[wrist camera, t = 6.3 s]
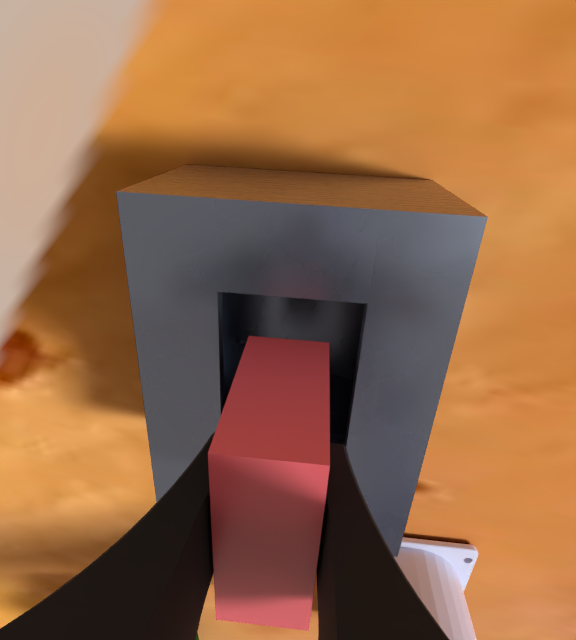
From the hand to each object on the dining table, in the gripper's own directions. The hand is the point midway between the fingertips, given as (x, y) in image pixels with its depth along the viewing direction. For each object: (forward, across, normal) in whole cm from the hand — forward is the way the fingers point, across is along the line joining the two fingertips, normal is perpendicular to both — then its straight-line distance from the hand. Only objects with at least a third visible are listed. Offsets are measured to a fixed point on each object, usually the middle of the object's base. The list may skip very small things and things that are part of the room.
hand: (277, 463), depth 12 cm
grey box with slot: (+9, 0, 0) cm, 9 cm away
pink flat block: (+2, 0, 0) cm, 2 cm away
